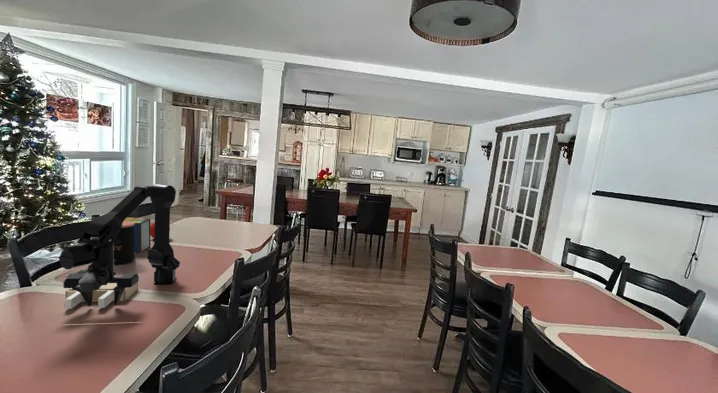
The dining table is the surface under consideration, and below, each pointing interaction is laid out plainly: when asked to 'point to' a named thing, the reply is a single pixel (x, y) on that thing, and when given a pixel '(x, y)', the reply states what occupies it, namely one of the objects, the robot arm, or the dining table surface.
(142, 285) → the dining table surface
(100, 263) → the robot arm
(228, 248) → the dining table surface
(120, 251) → the coffee jar
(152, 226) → the apple
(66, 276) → the egg carton
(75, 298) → the flap
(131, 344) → the dining table surface
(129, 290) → the carton
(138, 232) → the protein box
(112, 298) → the flap
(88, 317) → the dining table surface
